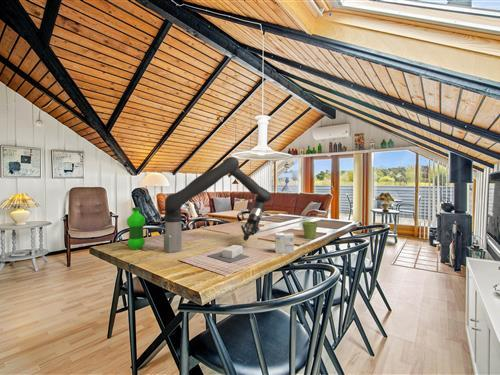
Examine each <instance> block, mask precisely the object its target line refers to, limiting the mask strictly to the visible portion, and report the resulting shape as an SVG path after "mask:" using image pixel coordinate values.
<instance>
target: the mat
mask: <svg viewBox="0 0 500 375" xmlns="http://www.w3.org/2000/svg"><path fill="white" fill-rule="evenodd" d="M207 257H208V258H212V259H214V260H218V261H222V262H226V263H229V264H231V263H234V262H238V261H240V260H244V259H247V258H249V257H250V256H249V255H245V254H243V253H241V254H240V255H238V256H236V257H234V258H224V257H223V250H222V251H220V252H215V253H211V254H209V255H208V254H207Z"/></svg>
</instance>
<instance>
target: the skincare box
mask: <svg viewBox="0 0 500 375" xmlns="http://www.w3.org/2000/svg"><path fill="white" fill-rule="evenodd" d="M222 251H223V257H224V258H234V257H236V256H238V255H240V254H243V252H244V251H243V245H238V244H232V245H230V246H228V247H225V248H223V249H222Z"/></svg>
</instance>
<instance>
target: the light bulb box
mask: <svg viewBox="0 0 500 375" xmlns="http://www.w3.org/2000/svg"><path fill="white" fill-rule="evenodd" d="M274 237H275V248H274V249H275V254H293V255H294V254H295V235H294V232H275V235H274Z"/></svg>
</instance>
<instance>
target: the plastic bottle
mask: <svg viewBox="0 0 500 375" xmlns="http://www.w3.org/2000/svg"><path fill="white" fill-rule="evenodd" d="M131 209H132V212H133V213H132V214H130V216H129V217H127V219H126V225H127V226H128V240H127V246H128V248H130V249H131V250H140V249H141V248H142V247H144V245H145V243H146V239H145V237H144V225H145V224H146V217H145V216H143V215H142V213H140V211H141V207H140V206H138V207H137V206H136V207H132V208H131Z"/></svg>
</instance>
